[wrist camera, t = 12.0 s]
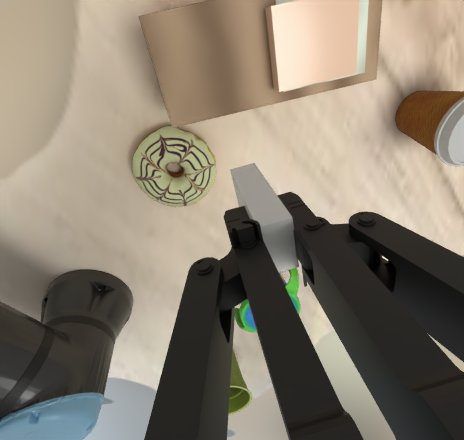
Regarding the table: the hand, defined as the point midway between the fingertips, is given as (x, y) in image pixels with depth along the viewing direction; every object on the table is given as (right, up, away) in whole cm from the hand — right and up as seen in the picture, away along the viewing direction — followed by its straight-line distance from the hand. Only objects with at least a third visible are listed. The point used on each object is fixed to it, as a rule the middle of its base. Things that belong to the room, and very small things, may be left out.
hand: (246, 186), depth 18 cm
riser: (+1, +20, +19) cm, 28 cm away
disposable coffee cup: (+28, +15, +27) cm, 42 cm away
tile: (+3, +14, +10) cm, 17 cm away
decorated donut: (-9, +7, +26) cm, 29 cm away
